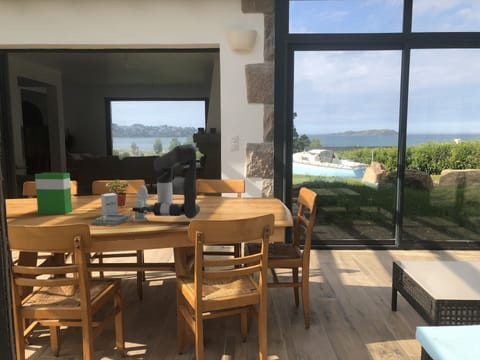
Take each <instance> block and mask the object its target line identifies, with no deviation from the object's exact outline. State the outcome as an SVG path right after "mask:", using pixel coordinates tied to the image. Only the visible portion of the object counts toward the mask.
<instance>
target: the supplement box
mask: <svg viewBox="0 0 480 360" xmlns="http://www.w3.org/2000/svg"><path fill="white" fill-rule="evenodd" d="M100 196H101V197H100V201H101V216H104V215H106V214H119V209H118V207H119V206H118V193H117V194H116V193H114V192H113V193H112V192H111V193H104V194H103V193H102V194H100Z"/></svg>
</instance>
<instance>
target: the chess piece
mask: <svg viewBox="0 0 480 360" xmlns="http://www.w3.org/2000/svg"><path fill="white" fill-rule="evenodd" d="M134 194H135V195H134V196H135V197H136V198H138V199H137V200H144V205H149V204H148V202H147V199H148V189H147V187H146V186H145V185H141V186H140V187H138V190H137V192H136V193H134Z"/></svg>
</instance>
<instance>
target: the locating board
mask: <svg viewBox="0 0 480 360" xmlns="http://www.w3.org/2000/svg"><path fill="white" fill-rule="evenodd" d="M129 220H132V215H129V214H119V213H118V214H106V215H104V216H103V215H101V216H100V217H97V218H95V219H94V220H93V221H91V226H92V225H93V226H107V225H110V226H109V227H117V226H119V225H120V224H122V223H124V222H126V221H129Z"/></svg>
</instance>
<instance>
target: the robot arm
mask: <svg viewBox="0 0 480 360" xmlns="http://www.w3.org/2000/svg"><path fill="white" fill-rule="evenodd" d="M182 163H188V164H189V167H188V170H187V173H186V175H185V178H184V180H183V183H182V189H183V191H182V192H183V203H173V200H174V199H173V168H176V167H178V166H179V165H180V164H182ZM153 167H154V170H155V171H156V172H157V173H161V172H165V173H164V174H162V175H161V176H158V177H157V179H156V183H157V184H156V186H157V188H156V189H157V202H155V203H154V204H148V205H144V206H143V207H135V206H134V207H131V208H132V209H131V211H132V212H134V213H135V212H138V213H144V215H145V214H146V215H148V214H152V213H153V215H154V216H155V217H181V216H184V215H185V216H184V217H186V218H187V219H190V220H191V219H193V218H196V217H197V215H198V214H199V213H200V211H201V208H200V207H201V206H200V205H199V204H198V203H197V202H196V200H197V198H198V193H197V192H198V191H197V182H196V181H197V178H196V176H197V150H196V147H195V145H194V144H193V143H190V144H189V143H188V144H180V145H177V146H175V147H174V148H173V149H172V150H169V151H168V152H166V153H165V154H162V155H160V156H156V158H154V161H153Z"/></svg>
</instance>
